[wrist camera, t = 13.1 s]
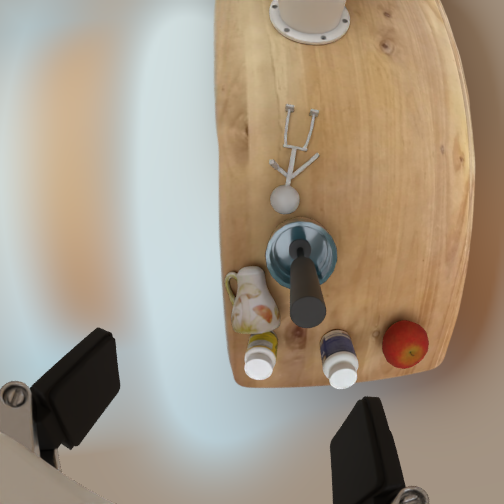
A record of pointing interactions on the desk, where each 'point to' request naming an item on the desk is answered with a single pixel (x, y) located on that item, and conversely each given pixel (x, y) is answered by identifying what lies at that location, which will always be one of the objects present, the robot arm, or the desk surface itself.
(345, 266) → the desk surface
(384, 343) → the apple
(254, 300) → the mug
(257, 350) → the supplement bottle
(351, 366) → the pill bottle
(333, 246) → the bowl
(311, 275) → the cylinder on disc stand
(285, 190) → the figurine
